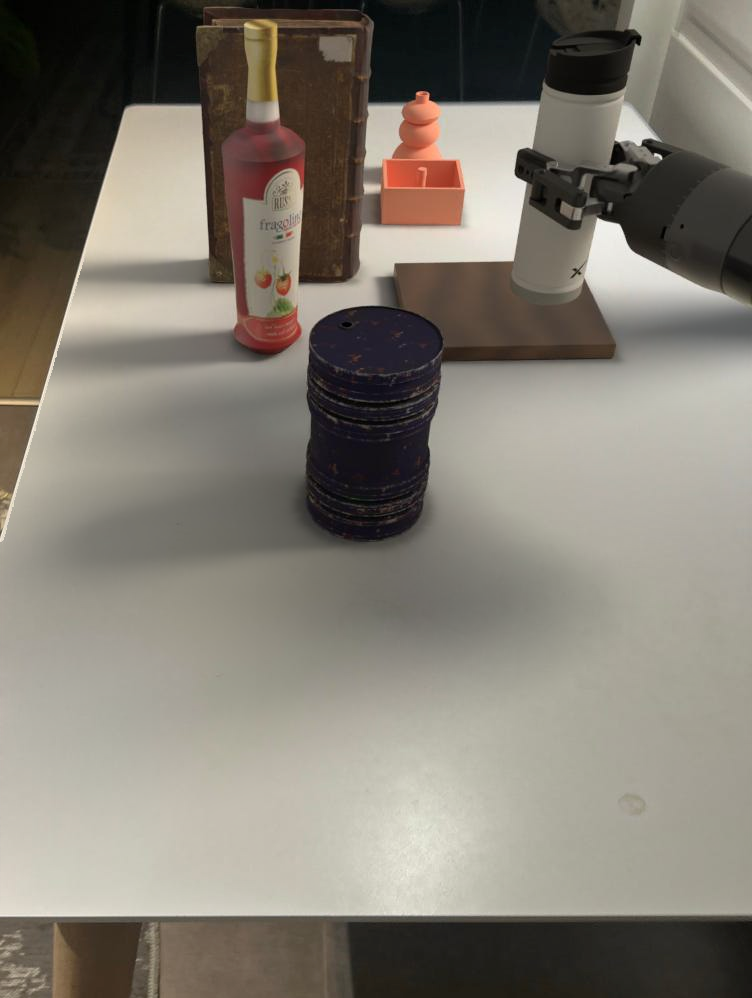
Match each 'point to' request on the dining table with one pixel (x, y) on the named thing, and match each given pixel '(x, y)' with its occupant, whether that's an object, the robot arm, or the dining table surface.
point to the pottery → (421, 173)
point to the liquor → (264, 205)
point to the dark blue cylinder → (370, 419)
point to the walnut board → (499, 314)
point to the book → (294, 125)
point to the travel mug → (571, 155)
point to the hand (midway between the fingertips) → (551, 152)
